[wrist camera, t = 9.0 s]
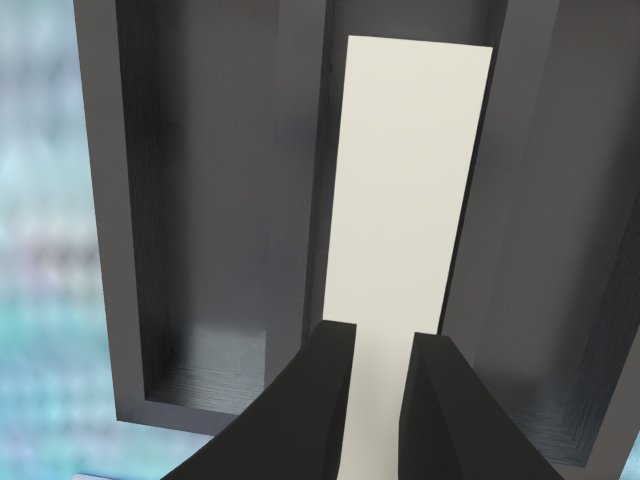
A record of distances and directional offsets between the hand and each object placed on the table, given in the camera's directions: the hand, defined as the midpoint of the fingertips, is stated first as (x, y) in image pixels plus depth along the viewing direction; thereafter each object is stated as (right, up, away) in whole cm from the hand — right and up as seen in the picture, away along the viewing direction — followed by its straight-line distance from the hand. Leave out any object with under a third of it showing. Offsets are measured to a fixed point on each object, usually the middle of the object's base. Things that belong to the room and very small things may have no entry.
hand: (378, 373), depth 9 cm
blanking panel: (+1, +3, +8) cm, 9 cm away
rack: (+1, +4, +9) cm, 10 cm away
